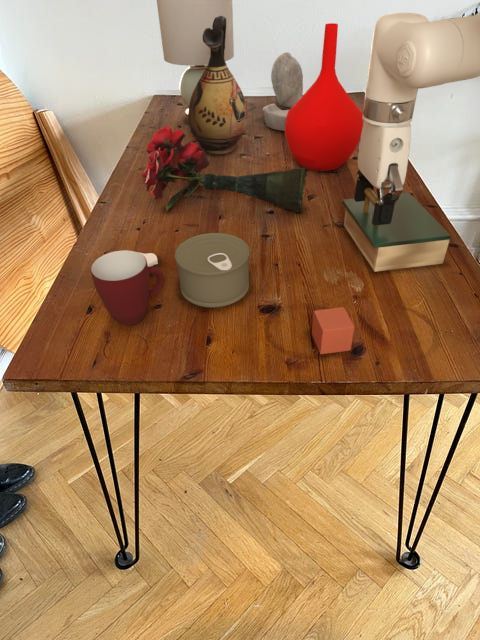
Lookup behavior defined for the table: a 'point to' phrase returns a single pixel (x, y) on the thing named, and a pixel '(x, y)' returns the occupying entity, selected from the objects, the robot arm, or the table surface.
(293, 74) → the decorative stone
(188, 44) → the lamp
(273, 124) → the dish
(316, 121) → the vase
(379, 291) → the table surface
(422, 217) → the cover
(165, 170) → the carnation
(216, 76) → the ceramic jug
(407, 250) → the cream open box
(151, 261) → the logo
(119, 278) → the mug
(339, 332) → the block
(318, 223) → the table surface
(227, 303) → the can
